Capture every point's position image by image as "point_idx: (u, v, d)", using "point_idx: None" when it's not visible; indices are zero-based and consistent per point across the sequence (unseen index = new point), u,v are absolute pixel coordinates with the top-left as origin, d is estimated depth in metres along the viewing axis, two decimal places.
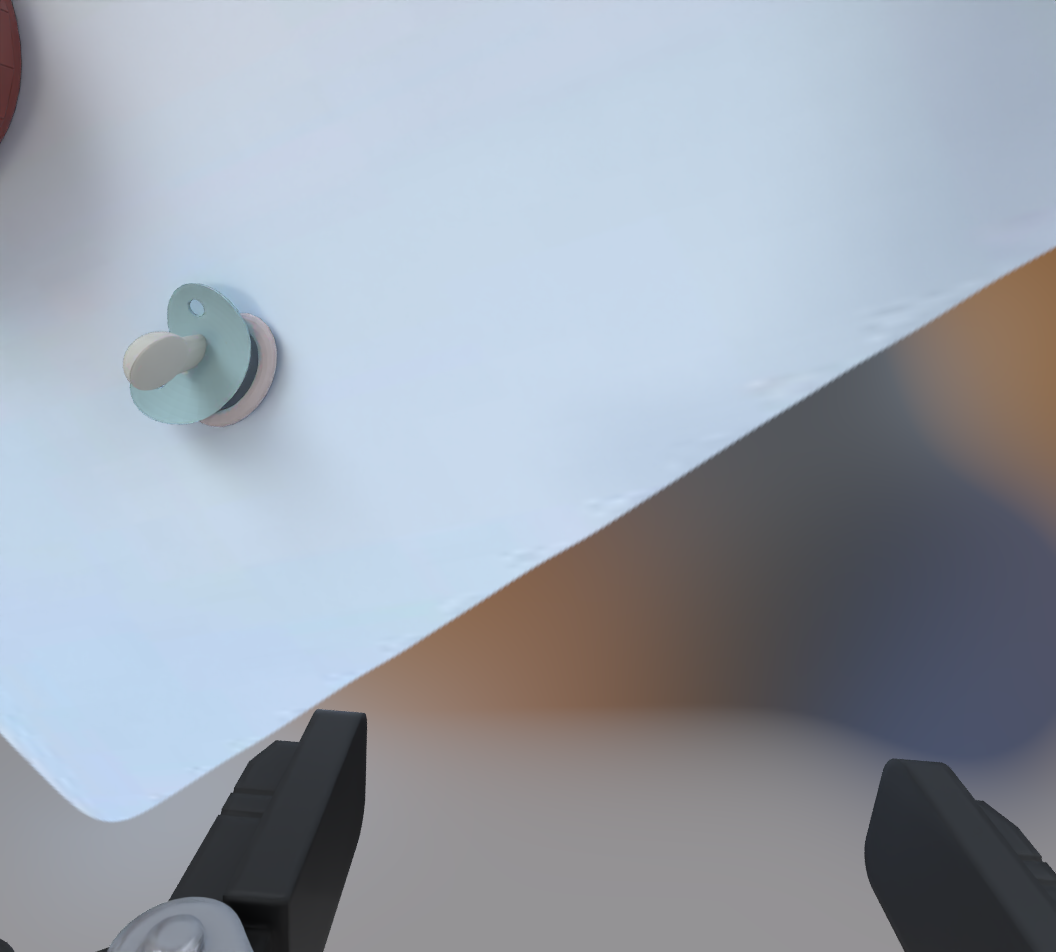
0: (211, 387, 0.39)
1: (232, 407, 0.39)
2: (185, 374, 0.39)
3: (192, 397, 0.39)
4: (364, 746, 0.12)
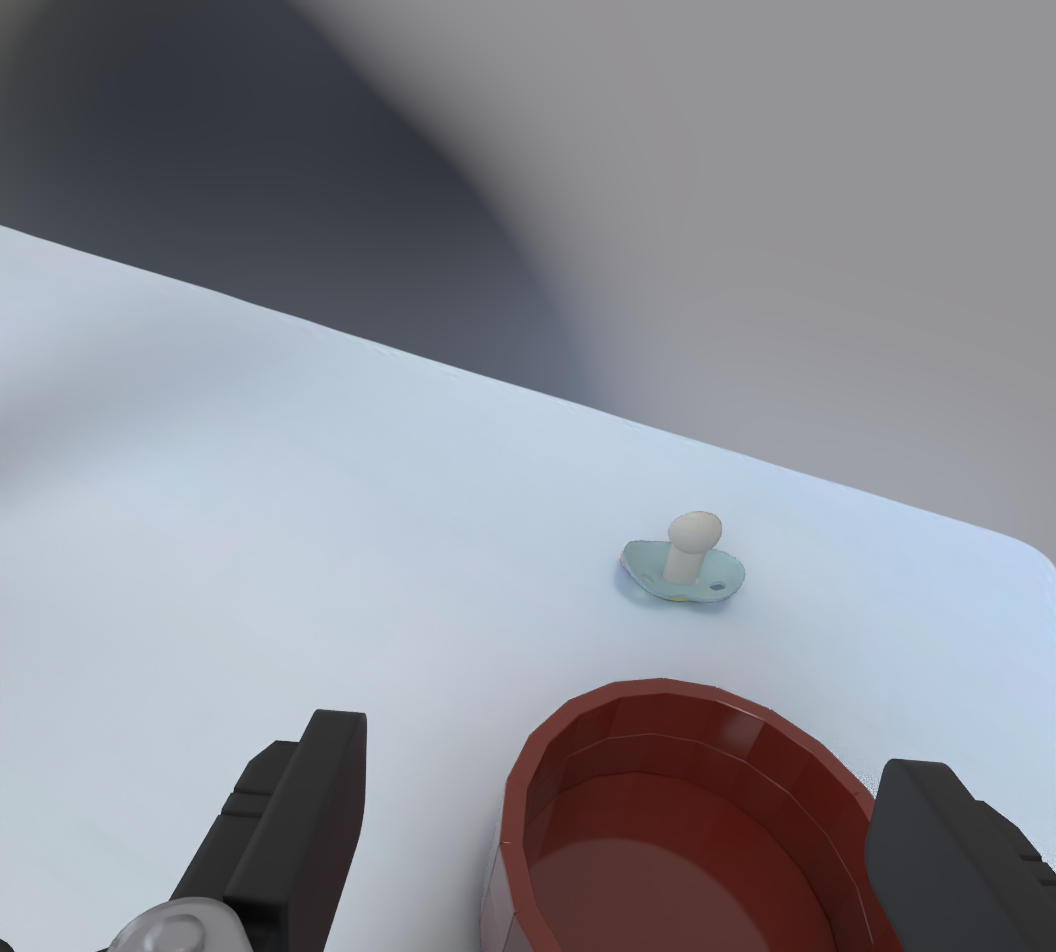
0: None
1: None
2: (697, 577, 0.46)
3: (707, 565, 0.47)
4: (364, 746, 0.12)
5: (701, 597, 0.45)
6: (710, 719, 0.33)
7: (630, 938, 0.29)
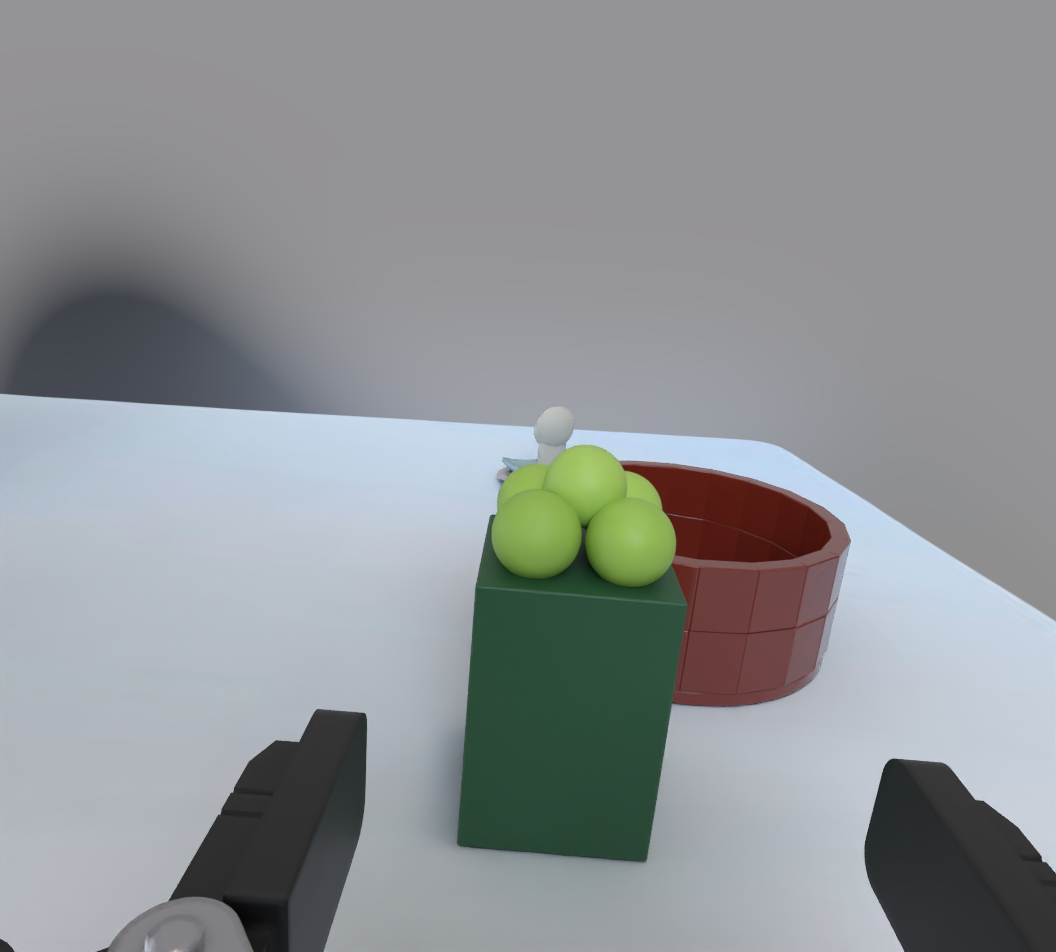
0: None
1: None
2: None
3: None
4: (364, 746, 0.12)
5: None
6: None
7: None
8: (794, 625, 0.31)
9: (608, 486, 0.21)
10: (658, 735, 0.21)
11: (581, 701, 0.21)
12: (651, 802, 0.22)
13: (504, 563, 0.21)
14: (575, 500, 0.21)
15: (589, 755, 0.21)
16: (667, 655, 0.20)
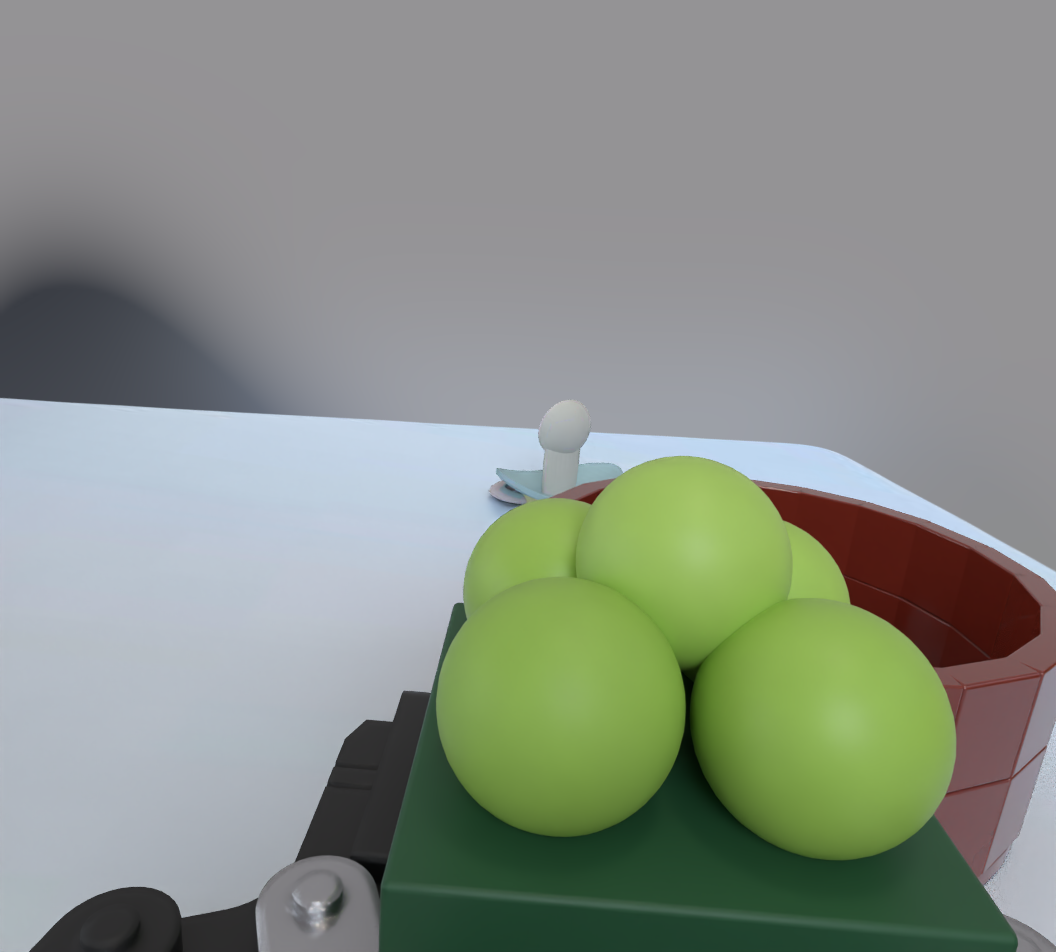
0: None
1: None
2: None
3: (579, 478, 0.44)
4: None
5: None
6: None
7: None
8: (1009, 775, 0.17)
9: (757, 571, 0.08)
10: None
11: None
12: None
13: (470, 794, 0.07)
14: (666, 608, 0.08)
15: None
16: None
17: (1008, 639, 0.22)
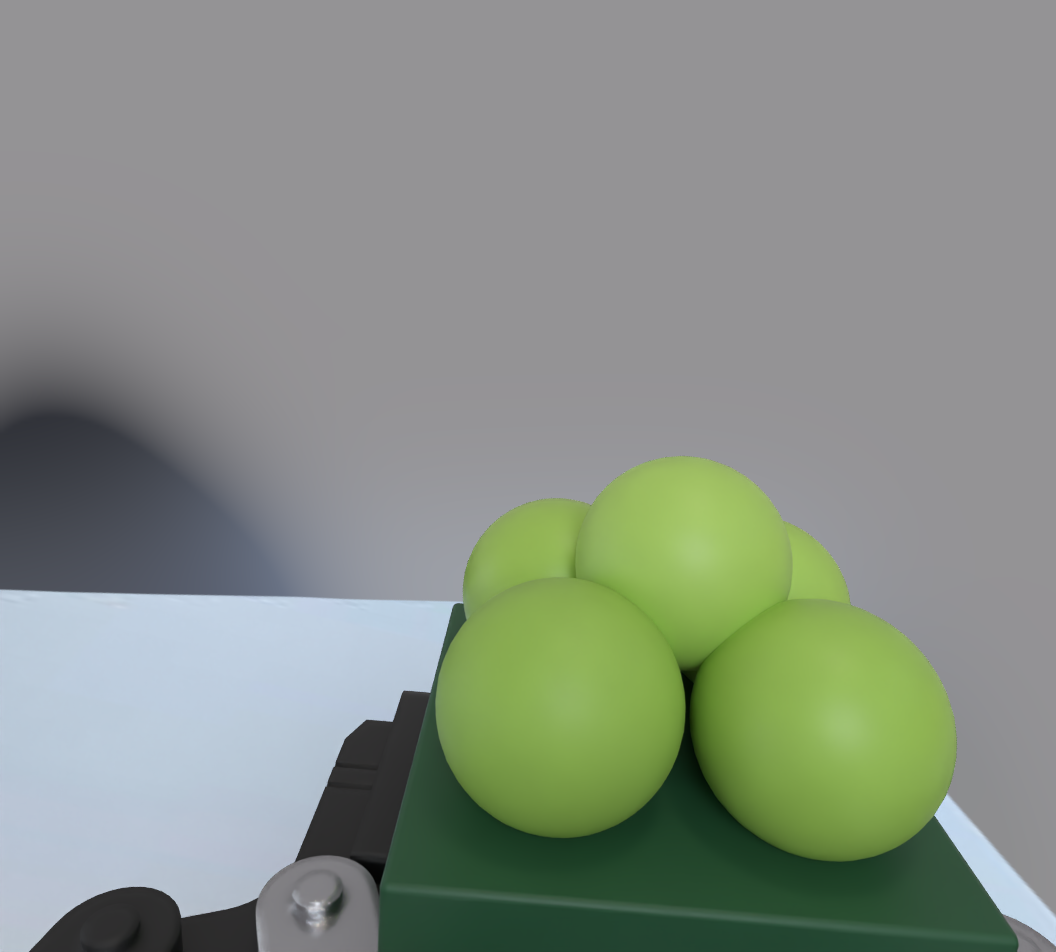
0: None
1: None
2: None
3: None
4: None
5: None
6: None
7: None
8: None
9: (757, 571, 0.08)
10: None
11: None
12: None
13: (469, 795, 0.07)
14: (666, 610, 0.08)
15: None
16: None
17: None
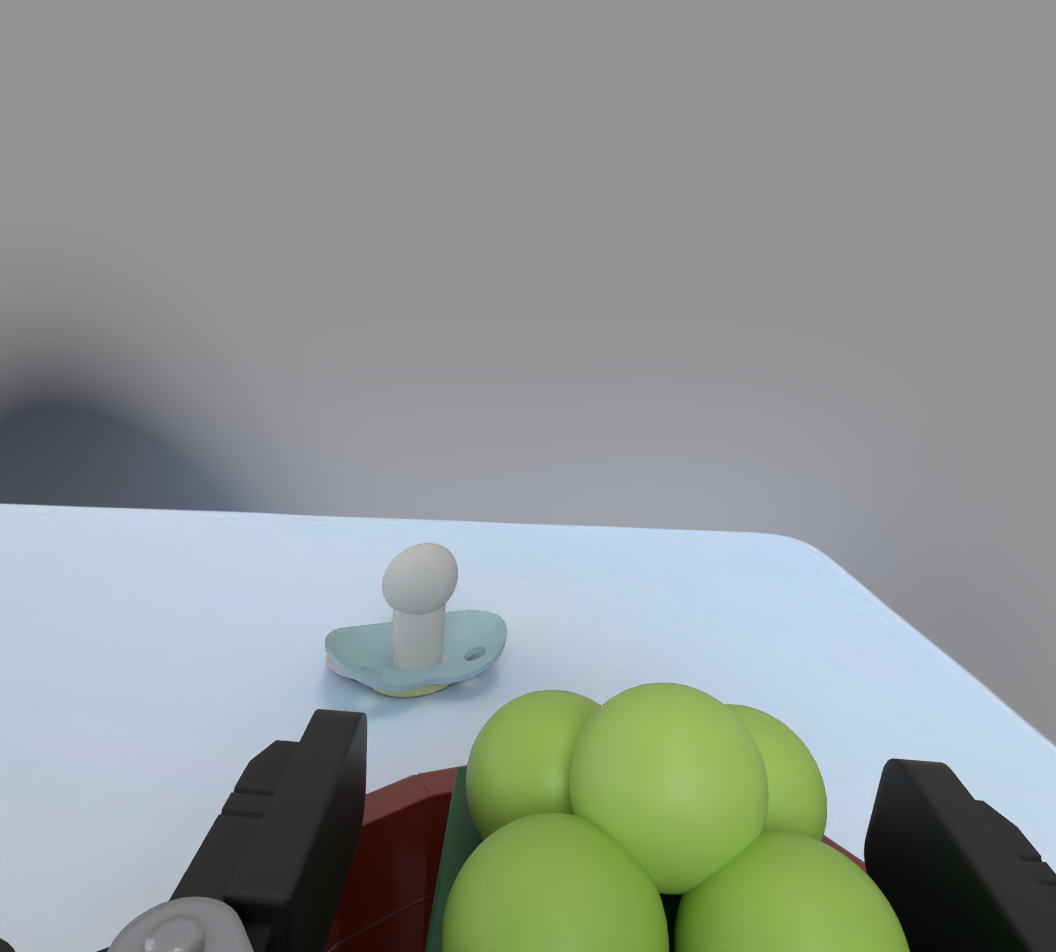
0: None
1: None
2: (444, 653, 0.32)
3: (452, 634, 0.33)
4: (364, 746, 0.12)
5: (456, 674, 0.30)
6: None
7: None
8: None
9: (734, 819, 0.08)
10: None
11: None
12: None
13: None
14: (651, 855, 0.08)
15: None
16: None
17: None
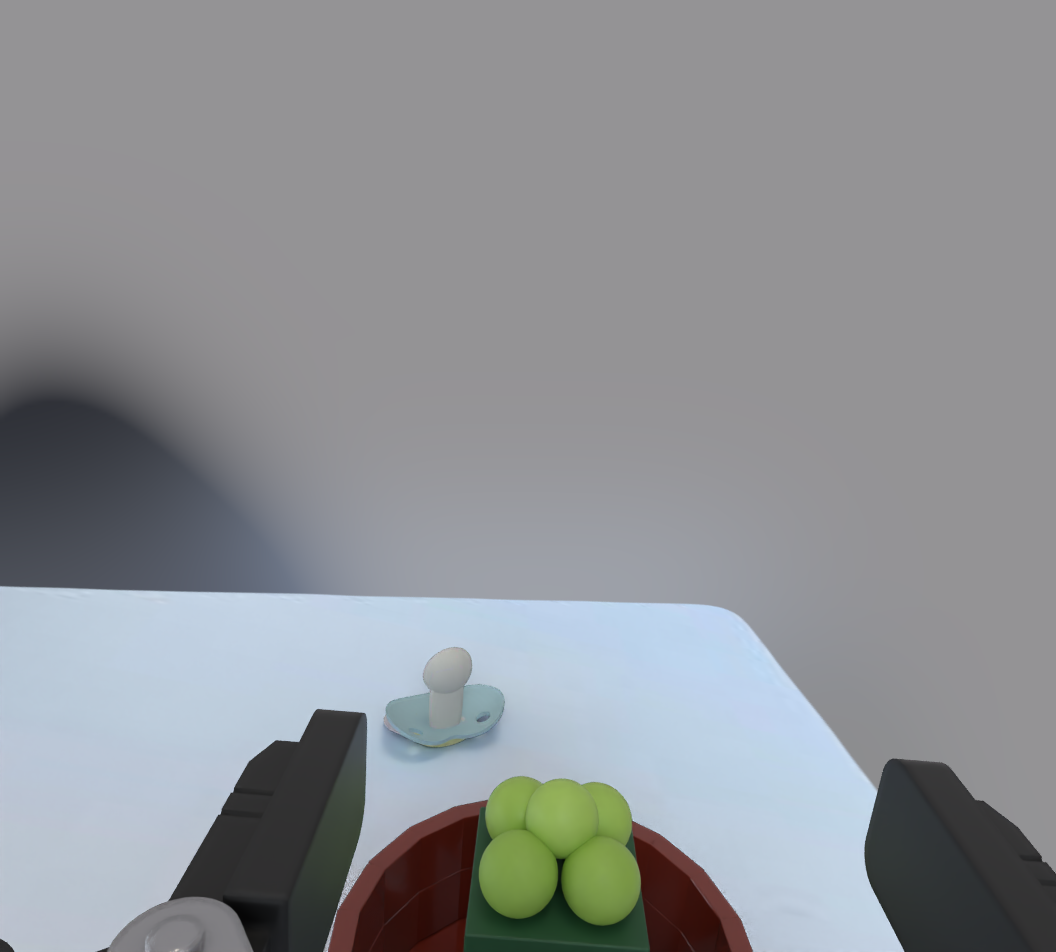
0: None
1: None
2: (462, 716, 0.47)
3: (468, 702, 0.48)
4: (364, 746, 0.12)
5: (471, 732, 0.46)
6: None
7: None
8: None
9: (581, 831, 0.24)
10: None
11: None
12: None
13: (490, 905, 0.24)
14: (551, 844, 0.24)
15: None
16: None
17: None
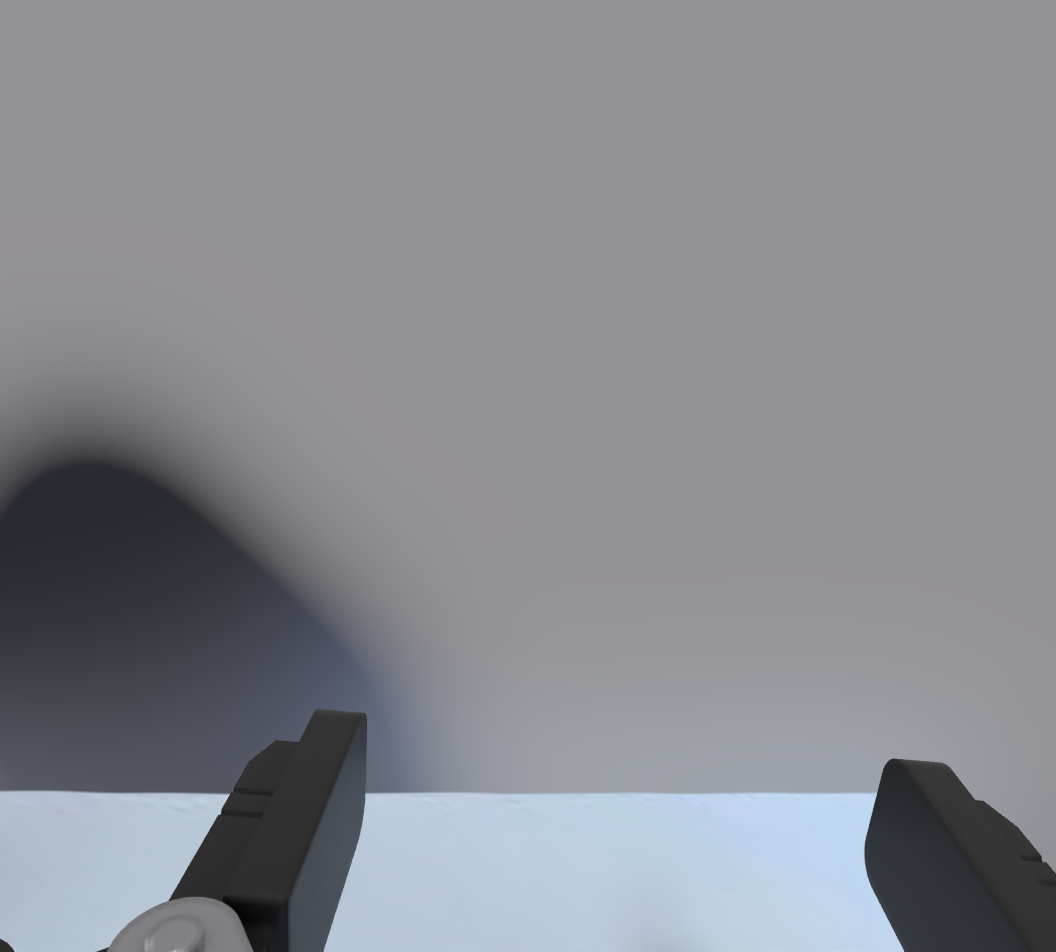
0: None
1: None
2: None
3: None
4: (364, 746, 0.12)
5: None
6: None
7: None
8: None
9: None
10: None
11: None
12: None
13: None
14: None
15: None
16: None
17: None
